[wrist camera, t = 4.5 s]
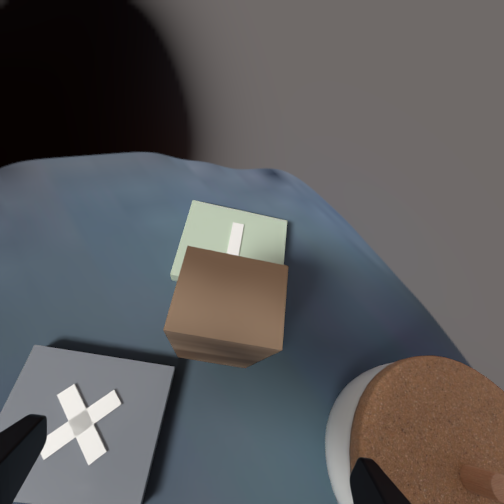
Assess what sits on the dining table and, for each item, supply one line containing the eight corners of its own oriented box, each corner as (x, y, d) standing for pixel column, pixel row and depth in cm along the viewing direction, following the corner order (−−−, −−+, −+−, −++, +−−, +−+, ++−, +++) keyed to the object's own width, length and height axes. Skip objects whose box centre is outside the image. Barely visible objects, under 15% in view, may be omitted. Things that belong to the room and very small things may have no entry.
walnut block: (245, 368, 20) (282, 350, 11) (178, 357, 20) (163, 330, 11) (252, 315, 22) (288, 265, 13) (191, 304, 22) (187, 245, 13)
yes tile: (277, 299, 23) (281, 294, 22) (171, 280, 22) (170, 273, 21) (283, 227, 27) (287, 219, 25) (192, 207, 26) (192, 199, 25)
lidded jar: (288, 375, 20) (348, 365, 12) (408, 358, 23) (526, 340, 15) (321, 574, 16) (455, 773, 8) (468, 527, 18) (692, 642, 10)
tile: (141, 506, 16) (137, 515, 15) (-25, 488, 15) (-44, 497, 14) (175, 367, 19) (174, 366, 18) (43, 347, 18) (33, 344, 17)
